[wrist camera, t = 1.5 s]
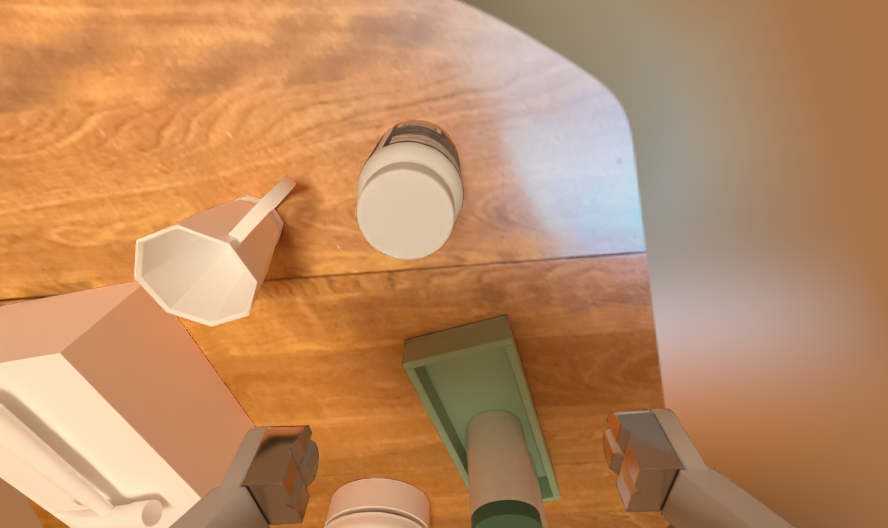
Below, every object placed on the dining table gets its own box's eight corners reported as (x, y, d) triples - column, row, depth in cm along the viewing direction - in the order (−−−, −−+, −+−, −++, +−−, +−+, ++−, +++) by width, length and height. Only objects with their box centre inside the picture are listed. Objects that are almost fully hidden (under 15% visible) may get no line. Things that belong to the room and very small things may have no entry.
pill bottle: (418, 213, 29) (406, 289, 20) (359, 158, 27) (319, 216, 18) (475, 162, 27) (490, 222, 18) (417, 97, 25) (402, 130, 16)
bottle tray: (404, 340, 35) (401, 364, 33) (506, 314, 34) (511, 337, 31) (478, 487, 48) (480, 513, 45) (555, 473, 46) (561, 499, 44)
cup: (188, 219, 29) (107, 277, 22) (264, 125, 25) (197, 160, 18) (267, 276, 32) (217, 345, 25) (346, 199, 28) (314, 253, 21)
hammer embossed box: (163, 470, 46) (90, 583, 36) (-2, 306, 33) (-178, 413, 24) (276, 456, 44) (231, 569, 35) (149, 278, 32) (25, 381, 22)
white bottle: (515, 405, 39) (535, 509, 30) (527, 439, 42) (548, 544, 33) (459, 416, 40) (463, 521, 31) (474, 450, 43) (482, 554, 34)
